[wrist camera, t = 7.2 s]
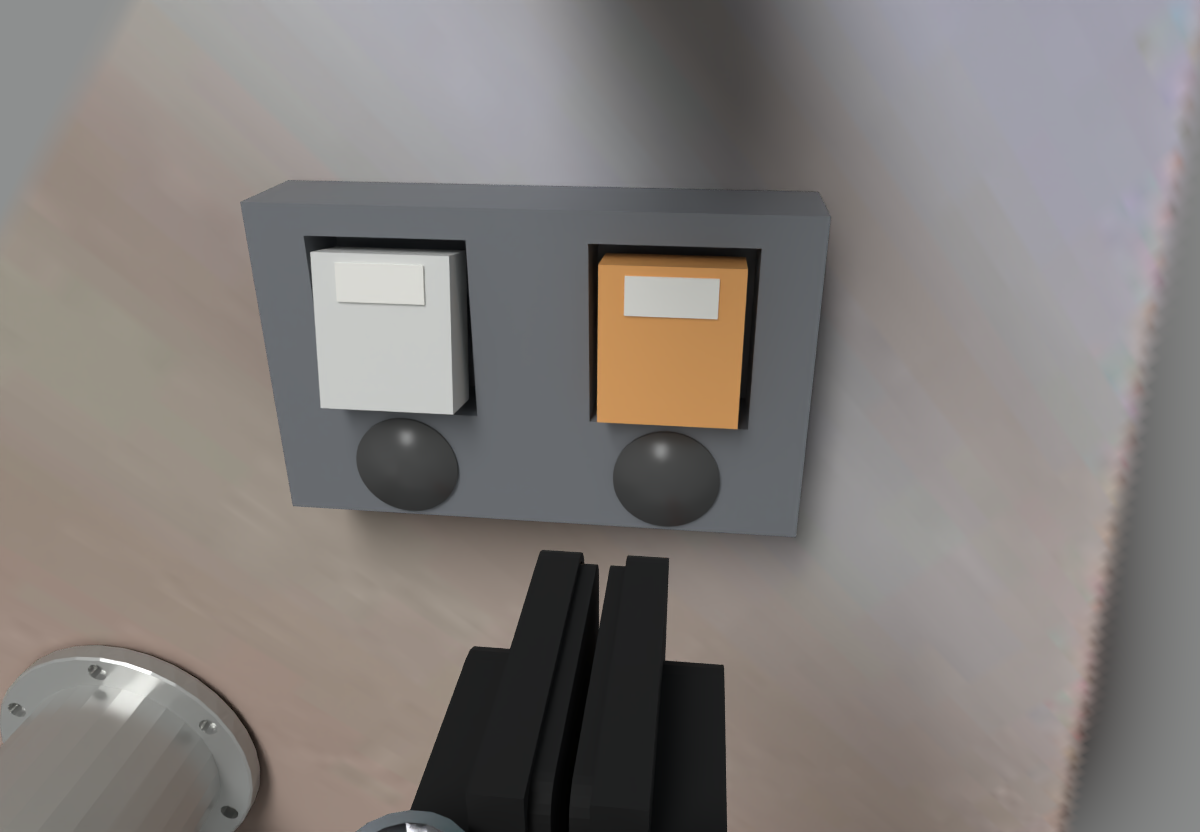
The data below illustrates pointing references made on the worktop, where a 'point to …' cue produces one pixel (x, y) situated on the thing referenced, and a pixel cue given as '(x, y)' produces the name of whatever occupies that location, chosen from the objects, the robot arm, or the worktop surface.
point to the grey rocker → (391, 329)
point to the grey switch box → (547, 355)
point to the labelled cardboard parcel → (670, 339)
